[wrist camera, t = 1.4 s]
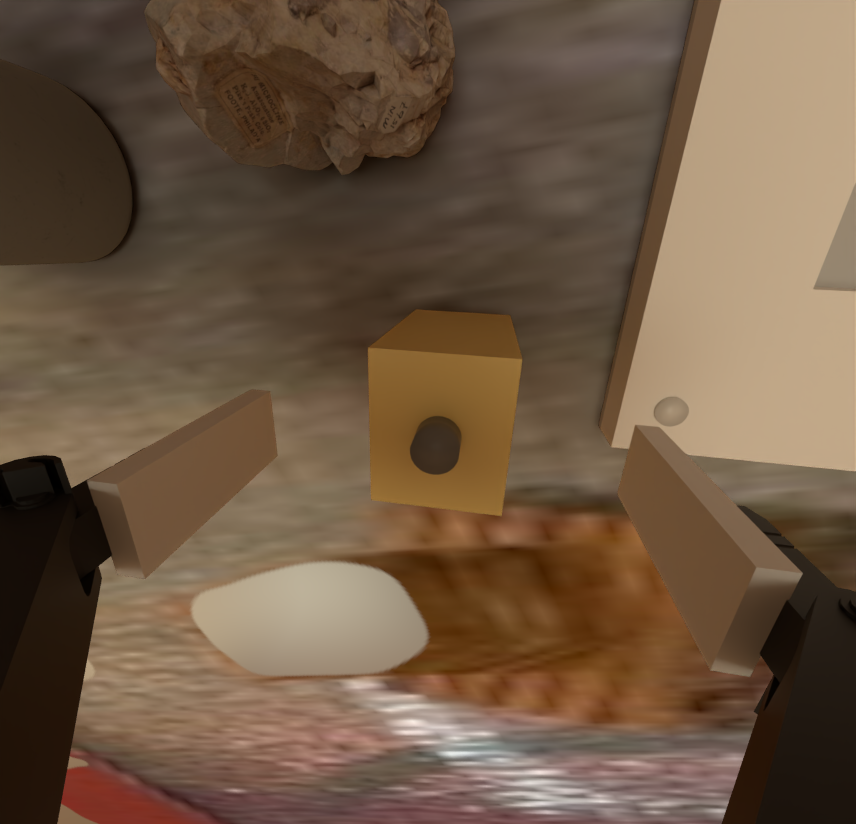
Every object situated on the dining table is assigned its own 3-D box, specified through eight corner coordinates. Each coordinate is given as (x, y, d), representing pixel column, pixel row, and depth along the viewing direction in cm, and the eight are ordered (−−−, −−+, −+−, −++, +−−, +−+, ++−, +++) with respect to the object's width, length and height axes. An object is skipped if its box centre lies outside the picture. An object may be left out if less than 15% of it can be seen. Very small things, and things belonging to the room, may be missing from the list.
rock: (463, 151, 23) (521, -112, 14) (348, 293, 20) (317, 79, 10) (334, 75, 24) (301, -231, 14) (201, 202, 20) (38, -85, 11)
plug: (424, 302, 24) (356, 356, 12) (508, 307, 23) (525, 370, 11) (421, 395, 26) (361, 519, 14) (497, 401, 26) (501, 537, 14)
